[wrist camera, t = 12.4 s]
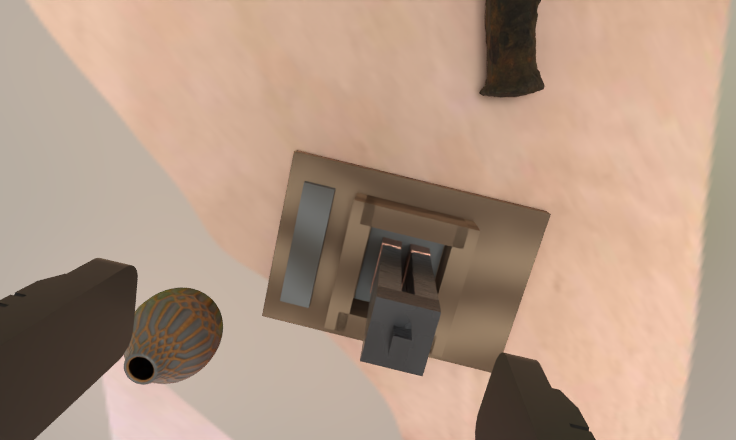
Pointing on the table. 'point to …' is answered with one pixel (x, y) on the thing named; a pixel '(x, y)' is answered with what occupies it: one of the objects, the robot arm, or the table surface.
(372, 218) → the stand
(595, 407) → the table surface
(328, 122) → the table surface
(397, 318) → the grey square peg
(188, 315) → the vase
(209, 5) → the table surface
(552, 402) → the robot arm
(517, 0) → the dark wooden branch
